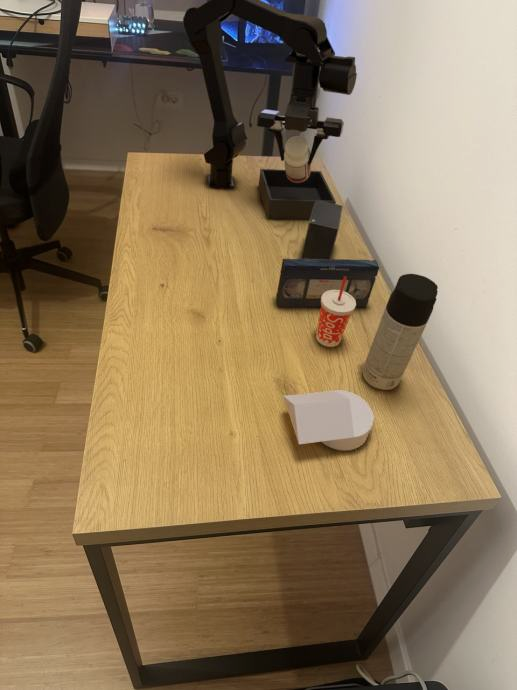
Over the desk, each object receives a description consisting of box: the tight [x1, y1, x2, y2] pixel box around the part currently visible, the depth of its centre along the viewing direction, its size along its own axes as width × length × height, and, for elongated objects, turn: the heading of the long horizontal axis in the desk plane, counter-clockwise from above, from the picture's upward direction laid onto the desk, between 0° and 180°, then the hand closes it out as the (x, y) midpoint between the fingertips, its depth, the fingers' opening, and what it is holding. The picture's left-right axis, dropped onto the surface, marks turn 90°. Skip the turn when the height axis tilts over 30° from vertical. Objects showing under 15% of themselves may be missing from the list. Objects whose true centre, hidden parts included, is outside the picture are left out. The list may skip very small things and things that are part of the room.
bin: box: [257, 168, 337, 221], centre depth 127 cm, size 16×16×5 cm
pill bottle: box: [283, 135, 312, 183], centre depth 118 cm, size 6×6×11 cm
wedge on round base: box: [282, 389, 375, 452], centre depth 76 cm, size 9×7×13 cm
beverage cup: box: [315, 276, 356, 348], centre depth 88 cm, size 6×6×14 cm
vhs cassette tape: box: [275, 258, 380, 308], centre depth 96 cm, size 18×3×10 cm, turn 95°
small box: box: [300, 200, 344, 260], centre depth 109 cm, size 11×6×10 cm, turn 167°
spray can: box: [361, 273, 439, 391], centre depth 80 cm, size 7×7×20 cm
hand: (295, 162), depth 117 cm, fingers closed on pill bottle, 6 cm apart
